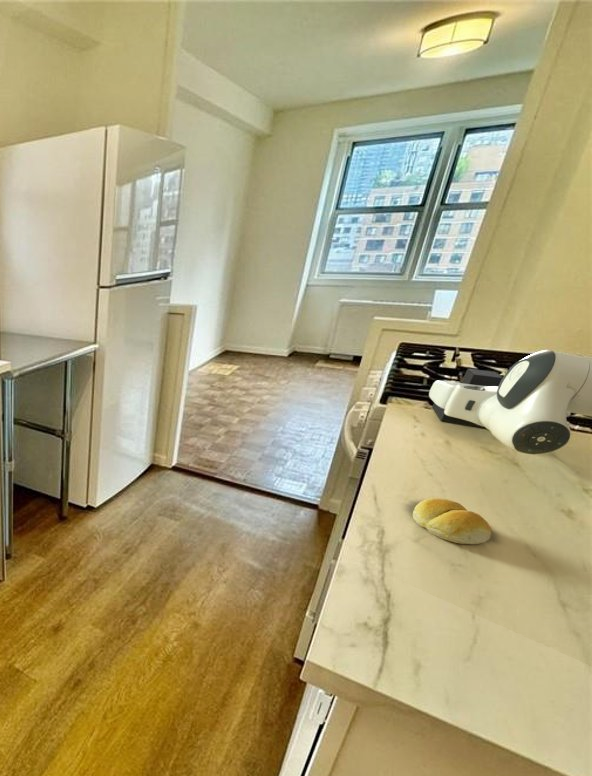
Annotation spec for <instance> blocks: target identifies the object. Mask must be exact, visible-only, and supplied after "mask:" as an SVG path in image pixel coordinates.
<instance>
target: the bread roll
mask: <svg viewBox="0 0 592 776" xmlns="http://www.w3.org/2000/svg"><path fill="white" fill-rule="evenodd" d="M412 518H413V520H414V521H415V522H416V524H417V525H419V526H420V527H422V528H424V529H427V531H428V532H429V533H431V535H434V536H436V537H438V538H440V539H442V540H445V541H447V542H448V541H449V542H452V543H456V544H463V545H478V544H479V545H480V544H483V543H486V542H487V541H489V539H490V538H491V535H492V528H491V526H490V524H489V522H488V521H486V519H485V518H484V517H483V516H482V515H480V514H479V513H477V512H474V511H470V510H468V509H466V508H465V506H463V505H462V504H461V503H459V502H457V501H455V500H450V499H447V498H437V497H435V498H428V499H424V500H422V501H420V502H419V503H417V504H416V506H415V507H414V509H413V510H412Z"/></svg>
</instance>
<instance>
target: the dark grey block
mask: <svg viewBox="0 0 592 776" xmlns="http://www.w3.org/2000/svg"><path fill="white" fill-rule="evenodd" d="M466 369H467V370H466V372H465V373H464V376H463V378H462V380H461V381H460V382H461V383H463V384H472V385H480V386H497V387H498V386H499V384H500V382H501V380H502V378H503V377H504V376H502V375H501V374H499V372H497V371H493V370H492V371H491V370H484V369H476V368H466Z"/></svg>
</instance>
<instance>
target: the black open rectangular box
mask: <svg viewBox="0 0 592 776" xmlns="http://www.w3.org/2000/svg"><path fill="white" fill-rule="evenodd" d="M432 409H433V412H434V413H435V414H436V416H437V417H438V419H439V421H440V422H442V423H449V424H454V425H461V426H467V427H471V428H472V427H473V428H479V429H486V430H488V429H487V428H486V427H483V426H480V425H477V424H475V423H473V422H470V421H466V420H462V419H458V418H454V417H451V416H447V415H446V414H444V410H445V409H443V408H441V407H439V406H438V405H436V404H435V403H434V402H433V404H432Z"/></svg>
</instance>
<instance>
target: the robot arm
mask: <svg viewBox="0 0 592 776" xmlns="http://www.w3.org/2000/svg"><path fill="white" fill-rule="evenodd" d="M502 377H503V378H502V380H501V382H500V384H499V386H498V387H497V386H480V385H472V384H463V383H461V382H462V381H457V380H450V381H446V380H435V381H434V382H433V383H432V386H431V387H430V389H429V392H428V398H429V399H430V400H431V401H432V402H433V404H434V403H435V404H436V405H438V406H439V407H441V408H443V409H445V410H444V414H446V415H447V416H451V417H454V418H458V419H462V420H466V421H470V422H473V423H475V424H477V425H480V426H483V427H486V428H487V429H486V430H489V432H490V433H491V434H492V436H493V437H494V438H495V439H496V440H498V441H499V442H500V443H501V444H503V445H504V446H506V447H507V448H509V449H511V450H513V451H515V452H517V453H520V454H527V455H543V454H549V453H552V452H555V451H558V450H559V449H562V448H564V446H566V445H567V443H569V441H570V439H571V437H572V432H571V428H570V426H569V424H568V421H567V418H569V417H570V416H571V414H576V415H581V416H583V417H586V418H589V419H592V357H588V356H584V355H582V354H581V355H580V354H575V353H569V352H565V351H564V352H562V351H558V350H551V349H544V350H540V351H537V352H534V353H531V354H530V355H527V356H525V357H524V358H522V359H520V360H518V361H516V362H515V363H514V364H513V365H511V366H510V368H509V369H508V370H507V371H506V372H505V374H504V375H503V376H502Z"/></svg>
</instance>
